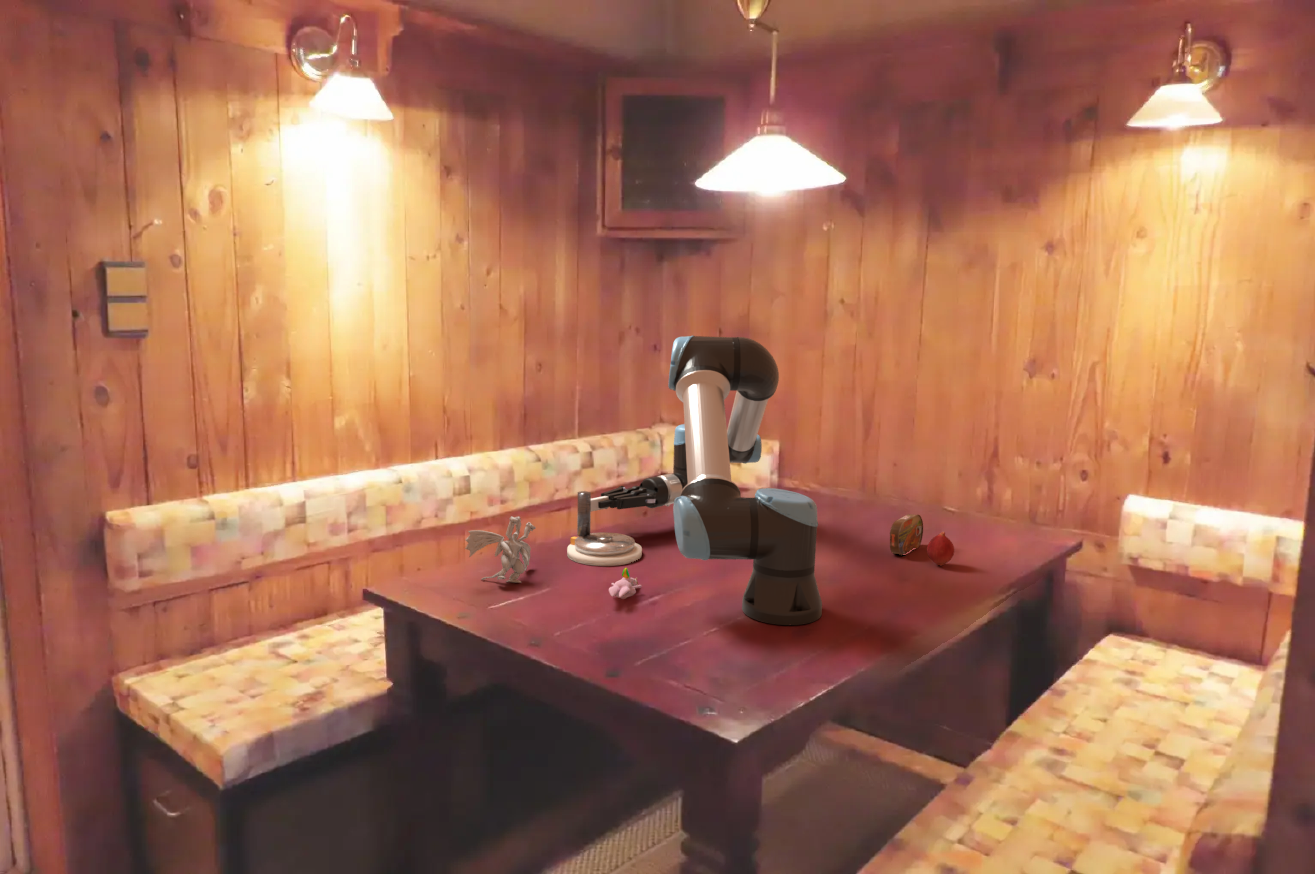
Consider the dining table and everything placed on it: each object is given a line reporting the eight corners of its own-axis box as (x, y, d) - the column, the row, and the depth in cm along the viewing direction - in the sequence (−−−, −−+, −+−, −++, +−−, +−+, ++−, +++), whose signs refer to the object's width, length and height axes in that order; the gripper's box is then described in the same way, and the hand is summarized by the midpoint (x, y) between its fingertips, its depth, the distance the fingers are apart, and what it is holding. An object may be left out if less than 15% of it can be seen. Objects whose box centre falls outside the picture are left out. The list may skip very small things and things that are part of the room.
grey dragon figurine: (453, 574, 185) (463, 507, 189) (519, 589, 198) (527, 526, 202) (484, 573, 178) (495, 504, 182) (550, 588, 191) (559, 523, 195)
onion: (923, 567, 205) (926, 532, 203) (928, 560, 210) (931, 526, 208) (950, 571, 202) (953, 536, 201) (955, 564, 207) (957, 530, 206)
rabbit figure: (615, 591, 189) (599, 604, 174) (616, 562, 189) (601, 573, 174) (645, 593, 188) (631, 606, 173) (646, 564, 188) (633, 575, 173)
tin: (898, 559, 210) (901, 524, 209) (885, 557, 212) (888, 521, 210) (923, 545, 222) (925, 512, 220) (910, 543, 224) (913, 509, 222)
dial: (646, 545, 211) (647, 495, 208) (611, 559, 199) (612, 507, 197) (596, 534, 218) (596, 486, 216) (560, 548, 207) (560, 497, 205)
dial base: (620, 570, 198) (620, 557, 197) (553, 558, 205) (553, 546, 204) (654, 550, 213) (654, 537, 212) (590, 540, 220) (590, 528, 219)
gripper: (677, 511, 224) (602, 527, 208) (642, 500, 233) (568, 516, 218) (677, 481, 223) (603, 496, 207) (642, 472, 232) (568, 485, 216)
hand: (585, 506), depth 212 cm, fingers closed
